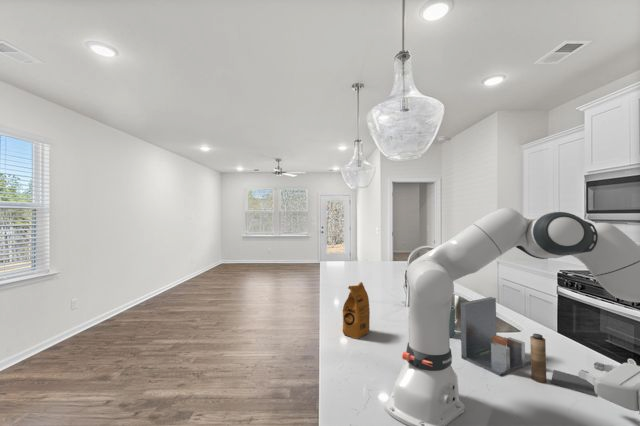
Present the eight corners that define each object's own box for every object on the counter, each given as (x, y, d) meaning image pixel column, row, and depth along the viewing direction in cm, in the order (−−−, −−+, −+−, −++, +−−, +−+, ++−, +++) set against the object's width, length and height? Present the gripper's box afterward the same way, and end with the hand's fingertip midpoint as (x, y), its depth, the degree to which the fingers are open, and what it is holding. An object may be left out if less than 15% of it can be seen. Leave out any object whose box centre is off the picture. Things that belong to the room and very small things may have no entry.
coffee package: (339, 334, 128) (338, 284, 129) (354, 326, 138) (354, 280, 138) (357, 340, 122) (357, 288, 122) (373, 331, 131) (372, 283, 132)
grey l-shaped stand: (500, 376, 93) (498, 313, 94) (461, 357, 106) (460, 303, 106) (530, 363, 102) (529, 306, 102) (491, 347, 114) (490, 297, 115)
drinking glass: (458, 338, 123) (458, 310, 123) (433, 337, 125) (433, 309, 125) (452, 330, 133) (452, 303, 133) (429, 328, 135) (429, 302, 135)
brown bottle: (545, 384, 89) (544, 338, 89) (530, 379, 91) (529, 335, 92) (547, 379, 91) (545, 334, 92) (532, 375, 94) (531, 331, 94)
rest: (595, 396, 82) (595, 395, 82) (550, 383, 89) (550, 381, 89) (594, 382, 90) (594, 380, 90) (553, 370, 97) (553, 369, 97)
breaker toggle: (501, 361, 100) (500, 340, 101) (492, 357, 103) (492, 337, 103) (506, 359, 102) (506, 338, 102) (498, 355, 105) (497, 335, 105)
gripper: (675, 370, 73) (603, 349, 86) (645, 393, 64) (569, 366, 76) (676, 395, 73) (604, 371, 85) (647, 422, 64) (570, 390, 76)
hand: (587, 368), depth 81 cm, fingers open, 8 cm apart
